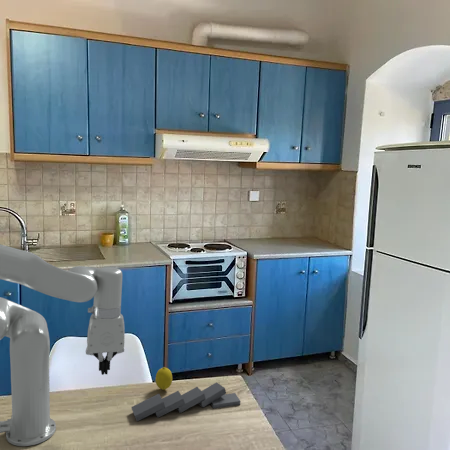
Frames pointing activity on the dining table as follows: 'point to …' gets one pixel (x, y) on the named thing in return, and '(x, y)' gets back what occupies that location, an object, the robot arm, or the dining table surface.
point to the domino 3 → (191, 399)
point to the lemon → (163, 378)
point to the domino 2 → (171, 403)
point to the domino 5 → (226, 401)
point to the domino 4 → (212, 394)
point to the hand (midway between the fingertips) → (104, 372)
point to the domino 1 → (148, 407)
